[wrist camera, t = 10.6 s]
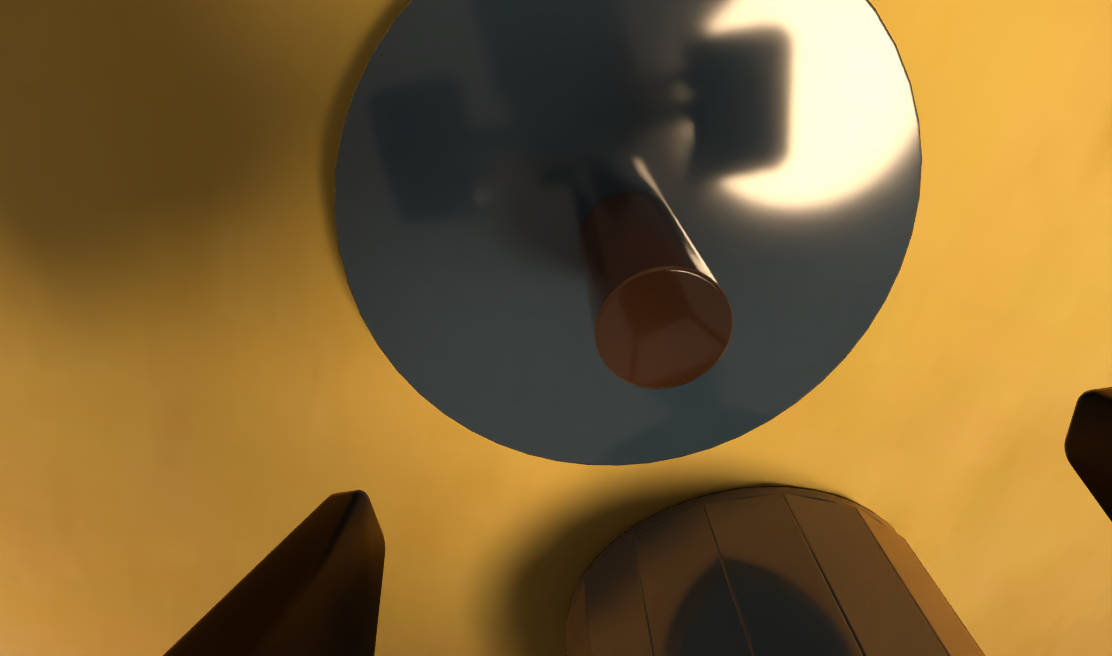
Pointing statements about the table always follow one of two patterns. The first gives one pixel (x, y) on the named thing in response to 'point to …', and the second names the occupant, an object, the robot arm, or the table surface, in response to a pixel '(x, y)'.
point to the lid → (625, 212)
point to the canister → (763, 584)
